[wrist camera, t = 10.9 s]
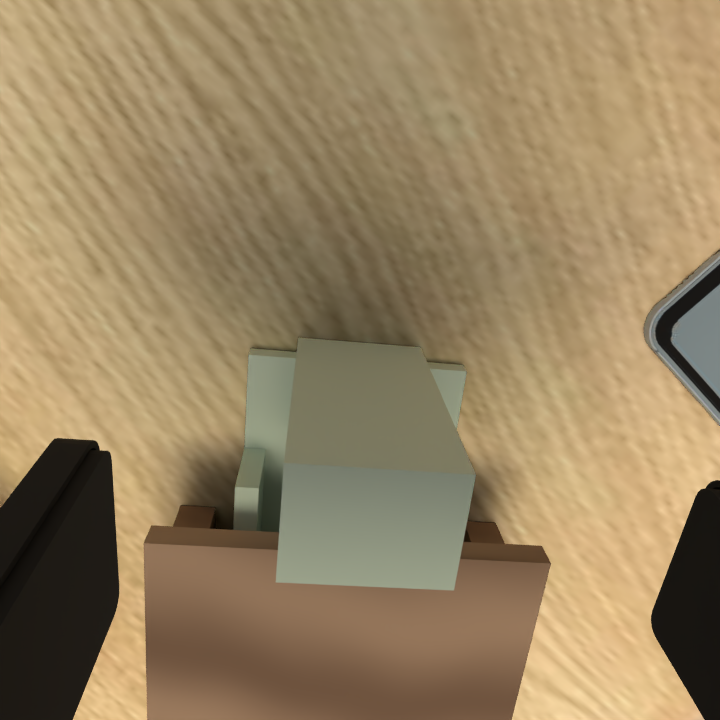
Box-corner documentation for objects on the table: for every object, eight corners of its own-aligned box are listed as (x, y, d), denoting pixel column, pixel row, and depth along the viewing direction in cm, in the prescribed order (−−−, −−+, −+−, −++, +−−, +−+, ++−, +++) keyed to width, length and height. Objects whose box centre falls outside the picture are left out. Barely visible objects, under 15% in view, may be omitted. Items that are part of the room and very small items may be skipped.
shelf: (181, 455, 22) (144, 543, 17) (505, 475, 23) (550, 563, 18) (180, 662, 25) (148, 781, 20) (464, 671, 26) (494, 787, 21)
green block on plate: (251, 333, 20) (209, 458, 13) (465, 350, 21) (545, 478, 13) (240, 575, 23) (201, 787, 16) (425, 584, 24) (471, 792, 17)
